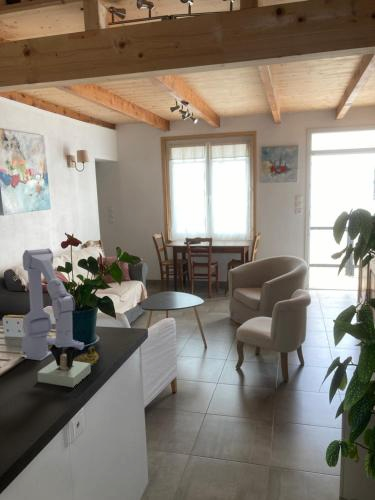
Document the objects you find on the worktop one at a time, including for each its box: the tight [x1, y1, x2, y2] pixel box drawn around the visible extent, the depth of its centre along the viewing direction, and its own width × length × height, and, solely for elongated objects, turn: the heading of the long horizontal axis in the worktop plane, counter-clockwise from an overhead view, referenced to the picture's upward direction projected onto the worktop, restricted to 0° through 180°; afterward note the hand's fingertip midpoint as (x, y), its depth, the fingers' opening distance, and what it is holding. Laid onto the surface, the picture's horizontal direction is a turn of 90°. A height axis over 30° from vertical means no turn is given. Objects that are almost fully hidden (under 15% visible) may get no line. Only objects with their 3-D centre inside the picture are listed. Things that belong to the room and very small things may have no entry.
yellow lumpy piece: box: [73, 345, 100, 367], centre depth 157 cm, size 9×5×15 cm
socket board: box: [37, 359, 92, 388], centre depth 144 cm, size 14×12×4 cm
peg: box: [60, 353, 70, 371], centre depth 143 cm, size 3×3×7 cm
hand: (64, 365), depth 143 cm, fingers open, 4 cm apart
